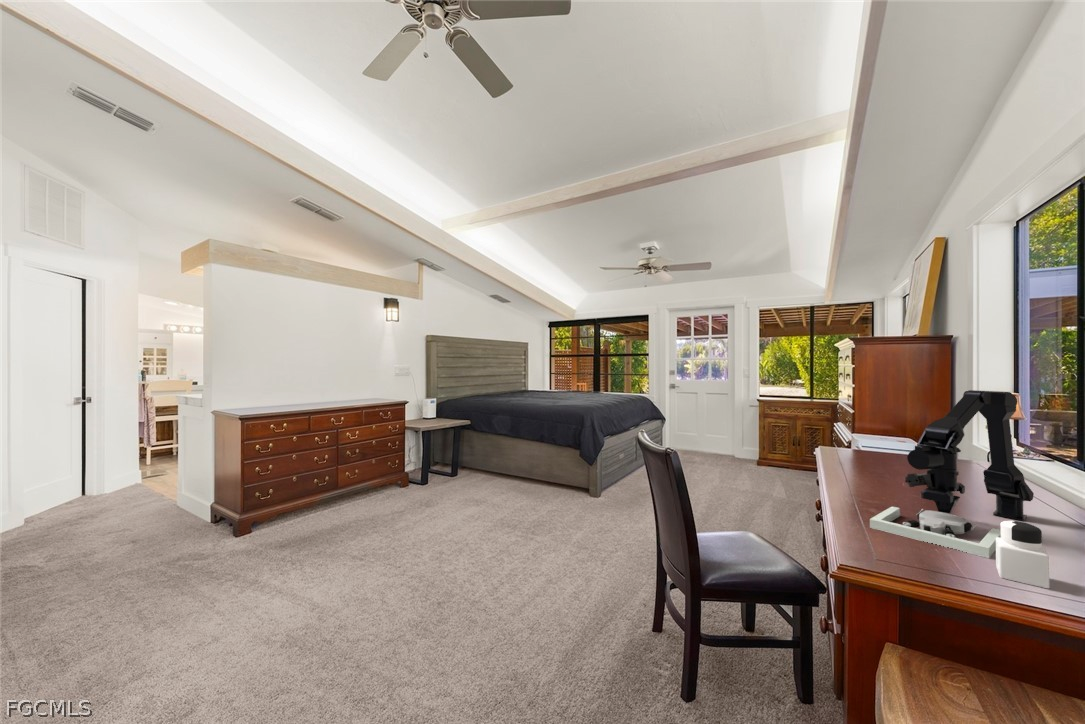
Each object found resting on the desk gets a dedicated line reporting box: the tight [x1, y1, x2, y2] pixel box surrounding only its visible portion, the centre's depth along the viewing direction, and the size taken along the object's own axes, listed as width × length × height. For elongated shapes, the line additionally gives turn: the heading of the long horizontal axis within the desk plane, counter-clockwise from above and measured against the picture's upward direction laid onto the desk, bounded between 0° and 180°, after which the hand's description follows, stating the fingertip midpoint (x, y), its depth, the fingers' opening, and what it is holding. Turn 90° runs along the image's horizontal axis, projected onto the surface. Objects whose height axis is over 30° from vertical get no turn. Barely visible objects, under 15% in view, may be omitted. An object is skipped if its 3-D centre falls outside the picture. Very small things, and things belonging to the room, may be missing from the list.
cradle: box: [869, 506, 1001, 559], centre depth 117 cm, size 20×24×2 cm
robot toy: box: [902, 508, 979, 538], centre depth 118 cm, size 12×4×15 cm
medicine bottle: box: [995, 520, 1050, 590], centre depth 93 cm, size 7×7×12 cm
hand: (943, 519), depth 123 cm, fingers closed
